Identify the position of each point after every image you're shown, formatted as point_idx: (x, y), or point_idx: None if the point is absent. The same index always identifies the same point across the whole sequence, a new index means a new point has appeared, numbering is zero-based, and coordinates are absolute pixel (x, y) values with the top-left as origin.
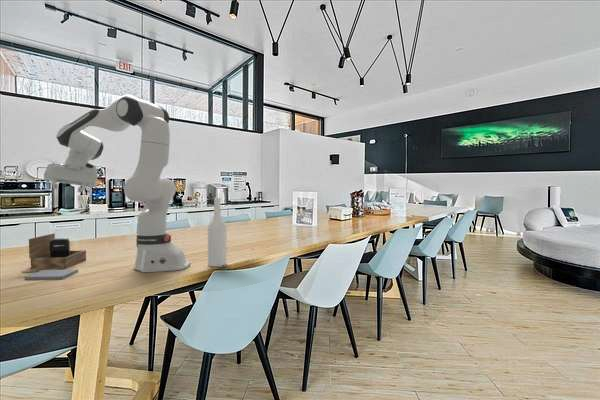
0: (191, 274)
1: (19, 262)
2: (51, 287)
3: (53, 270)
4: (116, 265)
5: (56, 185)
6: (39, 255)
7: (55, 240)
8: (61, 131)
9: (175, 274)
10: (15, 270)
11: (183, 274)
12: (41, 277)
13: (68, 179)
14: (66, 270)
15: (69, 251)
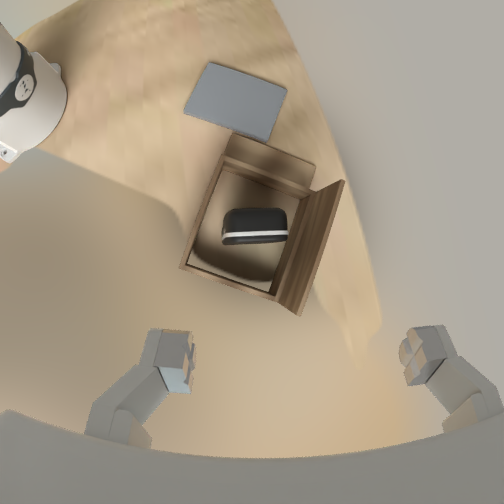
0: None
1: (353, 303)
2: (219, 23)
3: (240, 123)
4: (96, 151)
5: (426, 345)
6: (304, 228)
7: (269, 209)
8: None
9: None
10: None
11: None
12: (252, 76)
13: (354, 453)
14: (209, 110)
15: (223, 233)
